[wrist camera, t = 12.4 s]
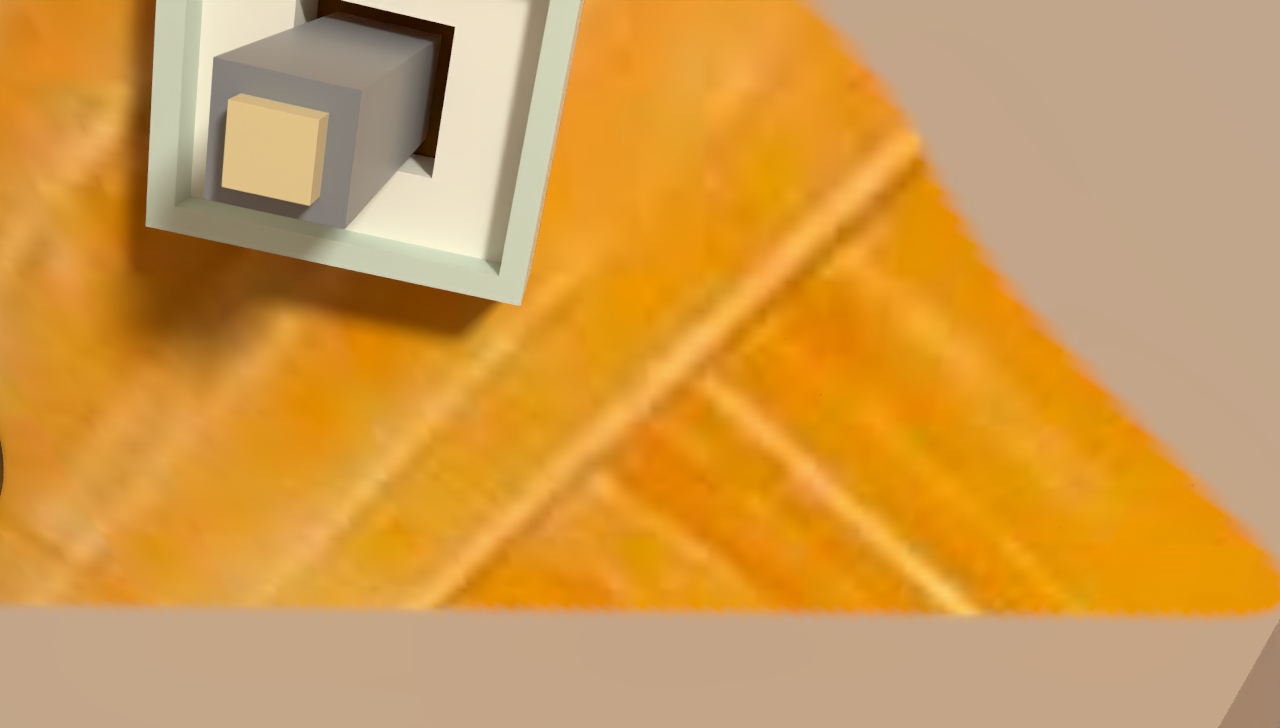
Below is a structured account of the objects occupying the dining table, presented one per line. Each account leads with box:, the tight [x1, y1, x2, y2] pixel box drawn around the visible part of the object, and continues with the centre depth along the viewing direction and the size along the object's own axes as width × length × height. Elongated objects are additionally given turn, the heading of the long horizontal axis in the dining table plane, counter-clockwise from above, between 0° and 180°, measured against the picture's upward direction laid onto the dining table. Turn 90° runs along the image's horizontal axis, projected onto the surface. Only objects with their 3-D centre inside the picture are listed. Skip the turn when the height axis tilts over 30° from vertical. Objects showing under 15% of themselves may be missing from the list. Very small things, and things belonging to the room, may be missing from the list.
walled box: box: [146, 0, 584, 306], centre depth 40 cm, size 14×13×4 cm
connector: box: [204, 11, 442, 229], centre depth 35 cm, size 4×4×14 cm
